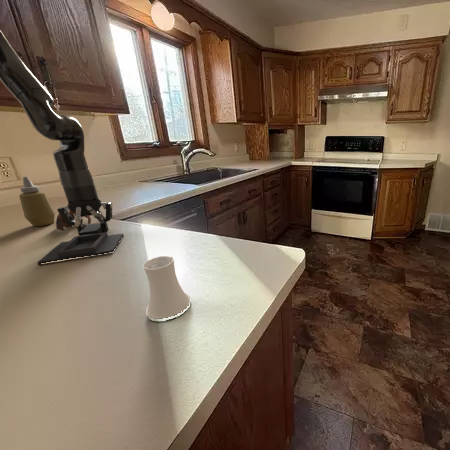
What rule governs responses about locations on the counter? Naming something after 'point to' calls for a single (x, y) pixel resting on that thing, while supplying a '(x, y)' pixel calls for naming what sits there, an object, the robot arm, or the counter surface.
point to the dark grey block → (91, 229)
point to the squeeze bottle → (35, 205)
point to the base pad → (83, 247)
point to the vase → (164, 289)
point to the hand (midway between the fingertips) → (95, 234)
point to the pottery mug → (61, 223)
